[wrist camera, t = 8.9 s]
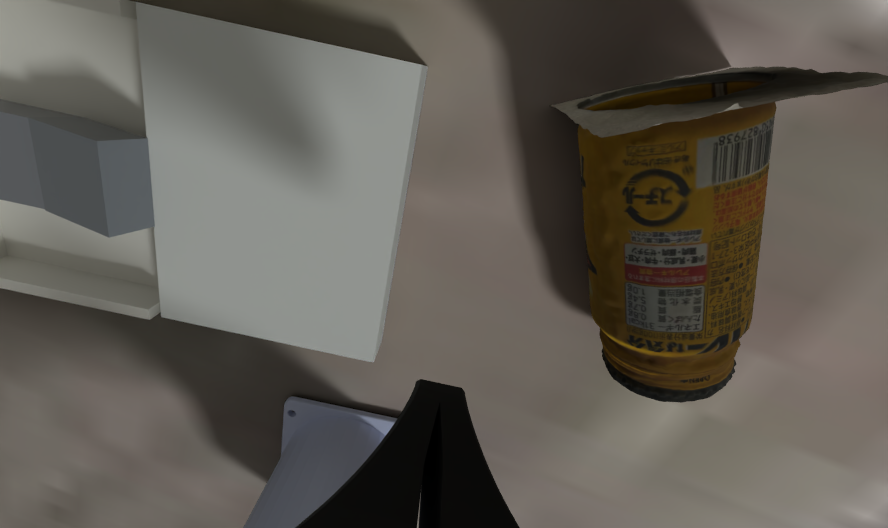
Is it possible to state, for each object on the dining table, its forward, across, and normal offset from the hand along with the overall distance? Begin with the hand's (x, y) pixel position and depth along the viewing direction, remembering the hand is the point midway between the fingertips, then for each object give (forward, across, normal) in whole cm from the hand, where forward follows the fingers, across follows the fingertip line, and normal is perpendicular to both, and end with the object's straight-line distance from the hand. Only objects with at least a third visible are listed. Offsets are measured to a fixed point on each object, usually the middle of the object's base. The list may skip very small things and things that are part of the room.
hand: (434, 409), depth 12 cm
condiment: (+6, -6, -10) cm, 13 cm away
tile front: (+8, +16, -2) cm, 18 cm away
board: (+10, +8, -2) cm, 13 cm away
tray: (+10, +19, -2) cm, 22 cm away
